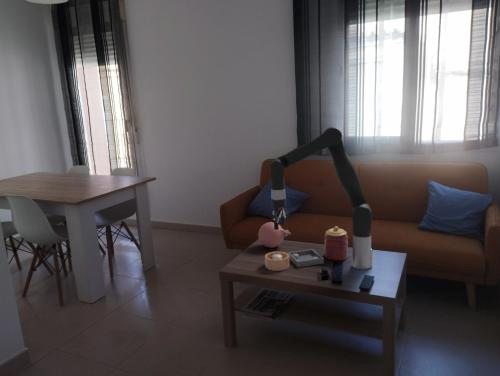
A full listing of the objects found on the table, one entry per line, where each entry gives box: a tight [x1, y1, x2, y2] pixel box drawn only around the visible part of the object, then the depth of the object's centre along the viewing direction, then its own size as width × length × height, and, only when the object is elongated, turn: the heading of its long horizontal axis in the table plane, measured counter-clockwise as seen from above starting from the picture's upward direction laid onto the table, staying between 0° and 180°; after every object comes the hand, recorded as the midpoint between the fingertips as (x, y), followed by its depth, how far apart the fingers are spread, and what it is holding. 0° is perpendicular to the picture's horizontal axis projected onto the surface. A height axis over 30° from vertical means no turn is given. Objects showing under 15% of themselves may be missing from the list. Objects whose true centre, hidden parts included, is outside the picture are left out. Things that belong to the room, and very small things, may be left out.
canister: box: [323, 225, 349, 261], centre depth 228 cm, size 13×13×18 cm
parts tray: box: [287, 248, 325, 268], centre depth 226 cm, size 15×15×3 cm
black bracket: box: [316, 267, 332, 282], centre depth 205 cm, size 12×7×5 cm, turn 0°
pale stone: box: [272, 254, 282, 260], centre depth 220 cm, size 5×5×5 cm
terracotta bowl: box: [264, 251, 290, 272], centre depth 220 cm, size 13×13×6 cm
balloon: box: [257, 221, 292, 249], centre depth 247 cm, size 15×20×15 cm
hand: (279, 227), depth 218 cm, fingers open, 8 cm apart
